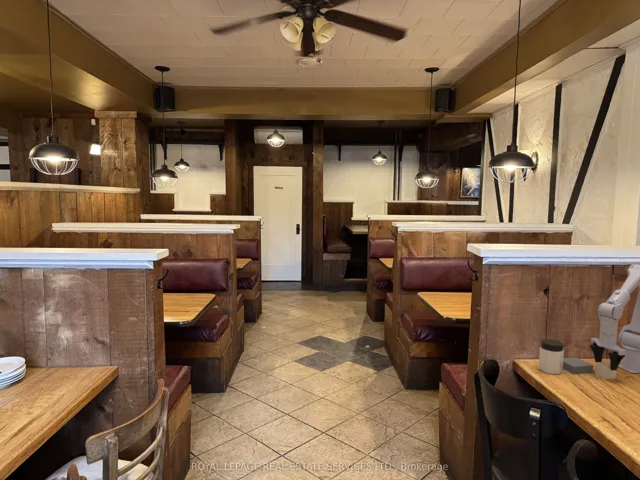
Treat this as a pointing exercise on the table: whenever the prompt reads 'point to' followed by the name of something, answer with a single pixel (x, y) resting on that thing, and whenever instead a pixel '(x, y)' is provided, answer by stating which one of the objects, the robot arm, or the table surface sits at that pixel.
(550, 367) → the jar
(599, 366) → the cream cube
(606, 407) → the table surface
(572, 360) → the charcoal base
